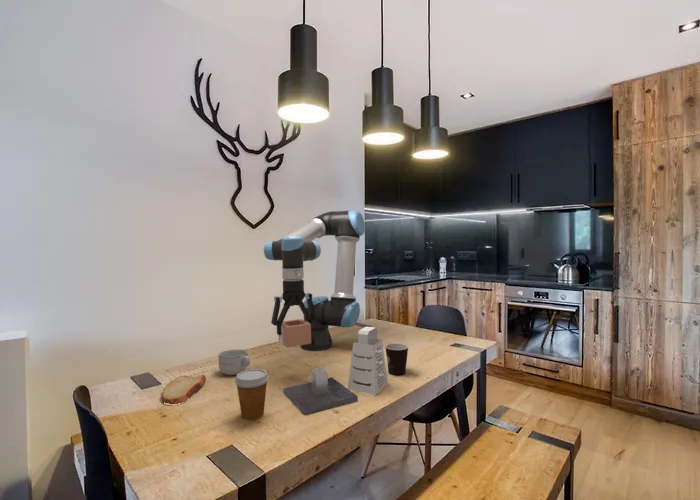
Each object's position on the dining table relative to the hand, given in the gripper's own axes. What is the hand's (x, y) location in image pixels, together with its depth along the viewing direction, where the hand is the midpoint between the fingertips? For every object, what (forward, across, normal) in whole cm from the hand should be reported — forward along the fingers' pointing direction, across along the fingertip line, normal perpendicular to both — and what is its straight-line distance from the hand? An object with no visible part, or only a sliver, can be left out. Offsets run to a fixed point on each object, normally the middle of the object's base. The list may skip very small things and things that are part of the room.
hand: (294, 341), depth 133 cm
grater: (+14, +20, -18) cm, 30 cm away
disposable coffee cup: (+14, -20, -18) cm, 31 cm away
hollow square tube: (0, 0, 0) cm, 0 cm away
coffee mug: (+15, +36, -12) cm, 41 cm away
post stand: (+14, +2, -17) cm, 22 cm away
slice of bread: (+14, -36, +10) cm, 40 cm away
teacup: (+14, -18, +18) cm, 29 cm away
